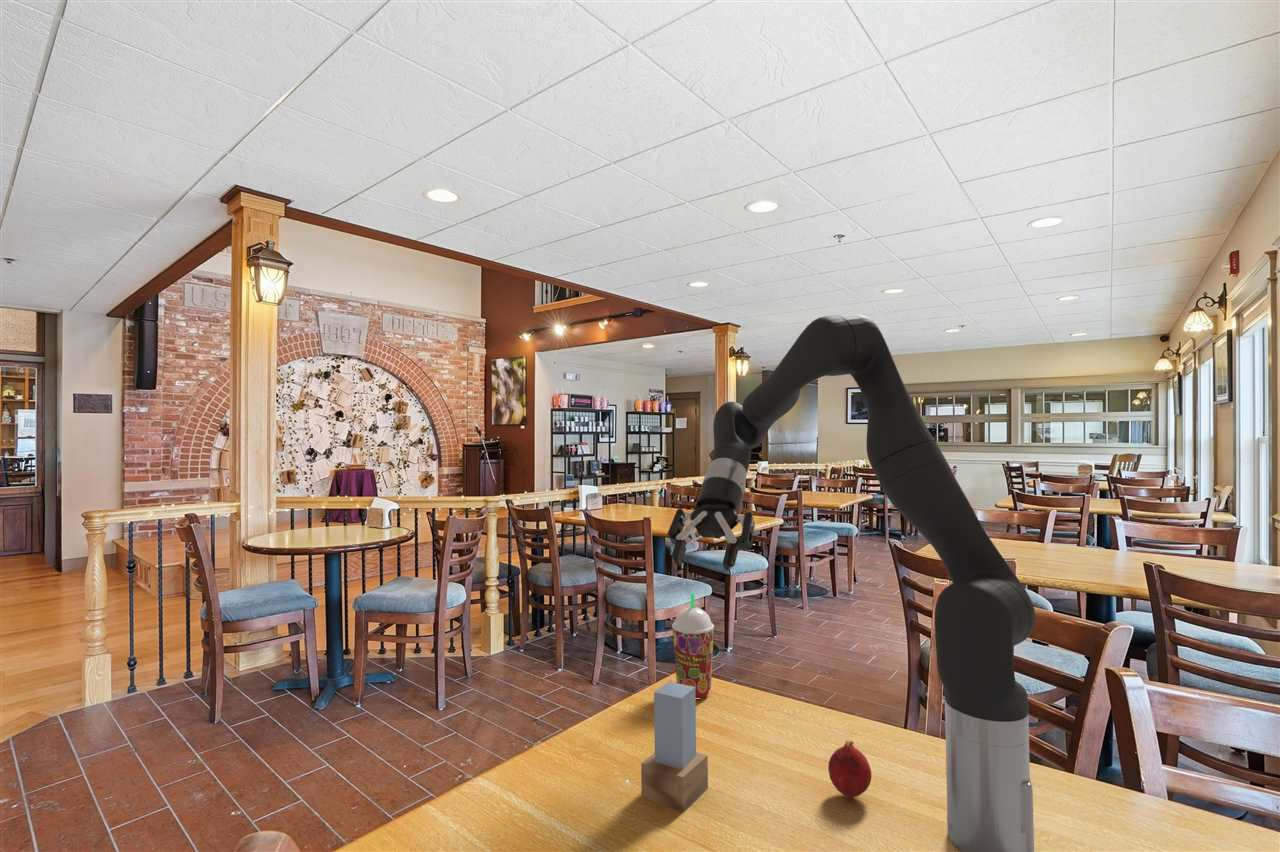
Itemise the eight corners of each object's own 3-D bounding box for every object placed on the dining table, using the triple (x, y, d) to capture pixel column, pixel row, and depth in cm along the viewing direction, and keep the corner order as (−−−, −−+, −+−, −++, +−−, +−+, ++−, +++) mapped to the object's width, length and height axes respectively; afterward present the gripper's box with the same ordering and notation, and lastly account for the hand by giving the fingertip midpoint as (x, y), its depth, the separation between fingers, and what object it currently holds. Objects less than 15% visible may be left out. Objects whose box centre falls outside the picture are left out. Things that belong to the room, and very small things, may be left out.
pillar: (696, 755, 91) (695, 686, 91) (683, 769, 87) (682, 698, 87) (668, 748, 93) (668, 681, 93) (654, 762, 89) (653, 692, 89)
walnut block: (708, 790, 91) (707, 755, 91) (683, 814, 85) (682, 777, 85) (667, 775, 95) (667, 742, 95) (641, 797, 89) (641, 762, 89)
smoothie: (668, 700, 121) (667, 597, 122) (678, 683, 129) (677, 587, 130) (710, 705, 119) (709, 600, 119) (718, 688, 127) (716, 590, 127)
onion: (875, 812, 85) (873, 753, 85) (831, 807, 86) (830, 749, 86) (868, 788, 90) (867, 733, 90) (827, 784, 91) (826, 730, 92)
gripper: (680, 474, 112) (654, 548, 102) (757, 475, 106) (738, 554, 96) (691, 501, 117) (668, 574, 106) (765, 503, 111) (748, 581, 100)
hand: (701, 565), depth 101 cm, fingers open, 8 cm apart
